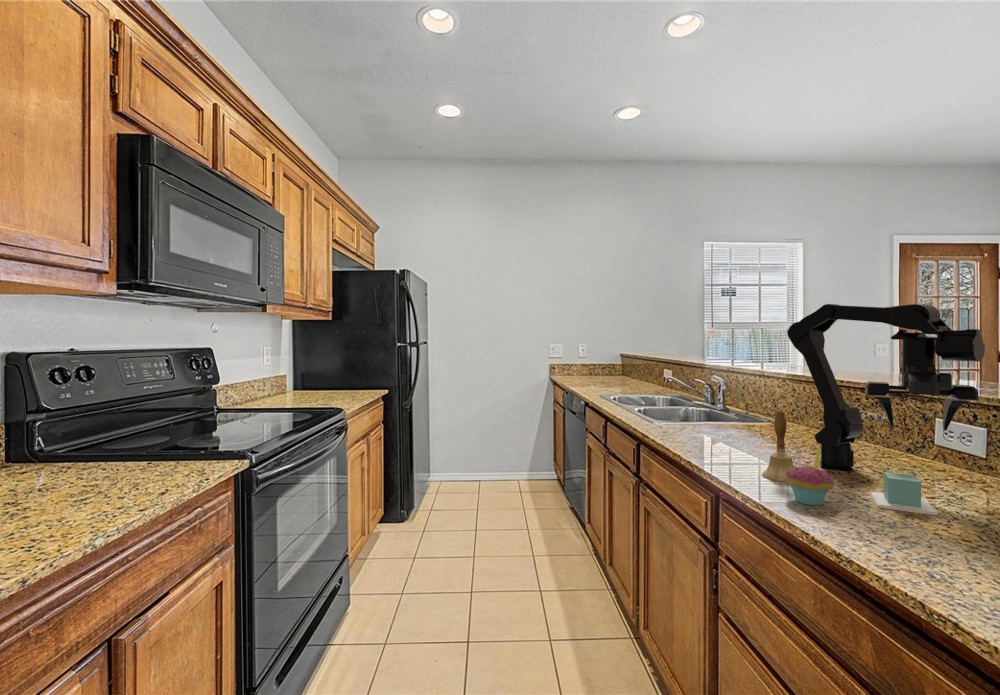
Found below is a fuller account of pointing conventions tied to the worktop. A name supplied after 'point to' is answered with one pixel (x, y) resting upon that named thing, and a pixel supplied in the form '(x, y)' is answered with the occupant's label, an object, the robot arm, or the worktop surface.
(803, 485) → the cupcake
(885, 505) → the tile
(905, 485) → the cube
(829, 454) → the robot arm
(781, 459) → the hand bell
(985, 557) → the worktop surface
